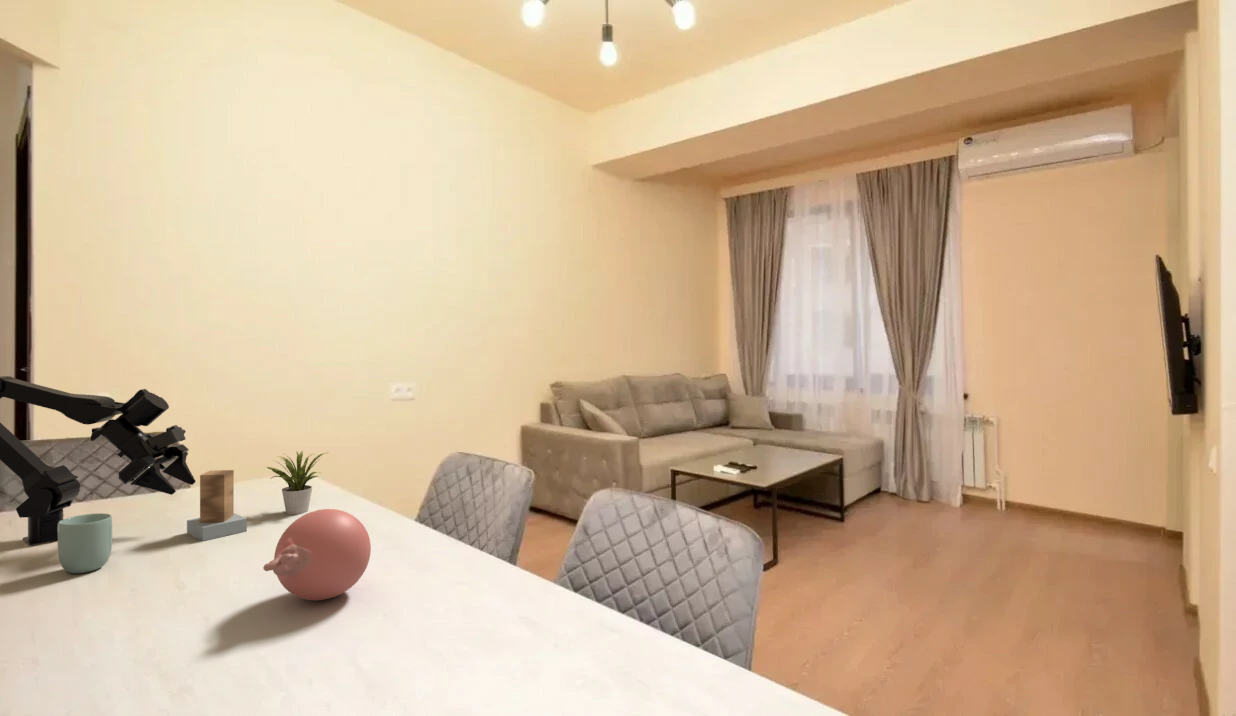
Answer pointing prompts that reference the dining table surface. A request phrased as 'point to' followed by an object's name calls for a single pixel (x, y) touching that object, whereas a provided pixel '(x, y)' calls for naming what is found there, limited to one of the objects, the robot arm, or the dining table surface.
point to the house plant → (296, 484)
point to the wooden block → (216, 496)
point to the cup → (84, 542)
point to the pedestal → (216, 528)
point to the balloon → (321, 554)
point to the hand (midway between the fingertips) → (184, 488)
